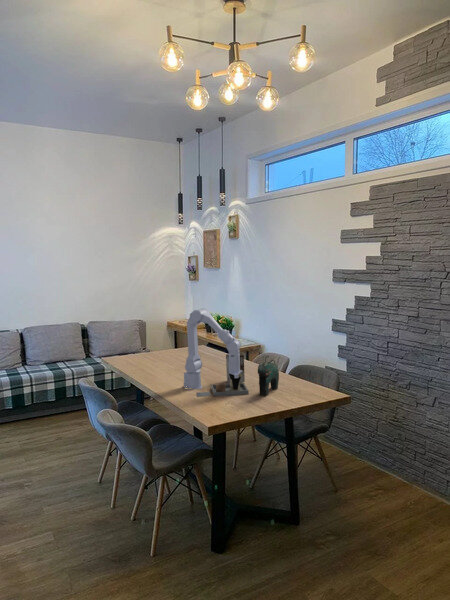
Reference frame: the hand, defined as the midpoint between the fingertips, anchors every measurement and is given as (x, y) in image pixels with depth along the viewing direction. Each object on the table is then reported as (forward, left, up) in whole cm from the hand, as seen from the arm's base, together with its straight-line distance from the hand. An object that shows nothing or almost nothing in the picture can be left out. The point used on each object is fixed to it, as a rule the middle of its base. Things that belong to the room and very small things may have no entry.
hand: (235, 388), depth 235 cm
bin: (-3, 0, -2) cm, 4 cm away
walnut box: (-8, -3, -1) cm, 9 cm away
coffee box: (+3, +19, -2) cm, 19 cm away
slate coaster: (-17, -3, -2) cm, 17 cm away
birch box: (0, 0, -1) cm, 1 cm away
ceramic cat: (+17, -5, -2) cm, 18 cm away
